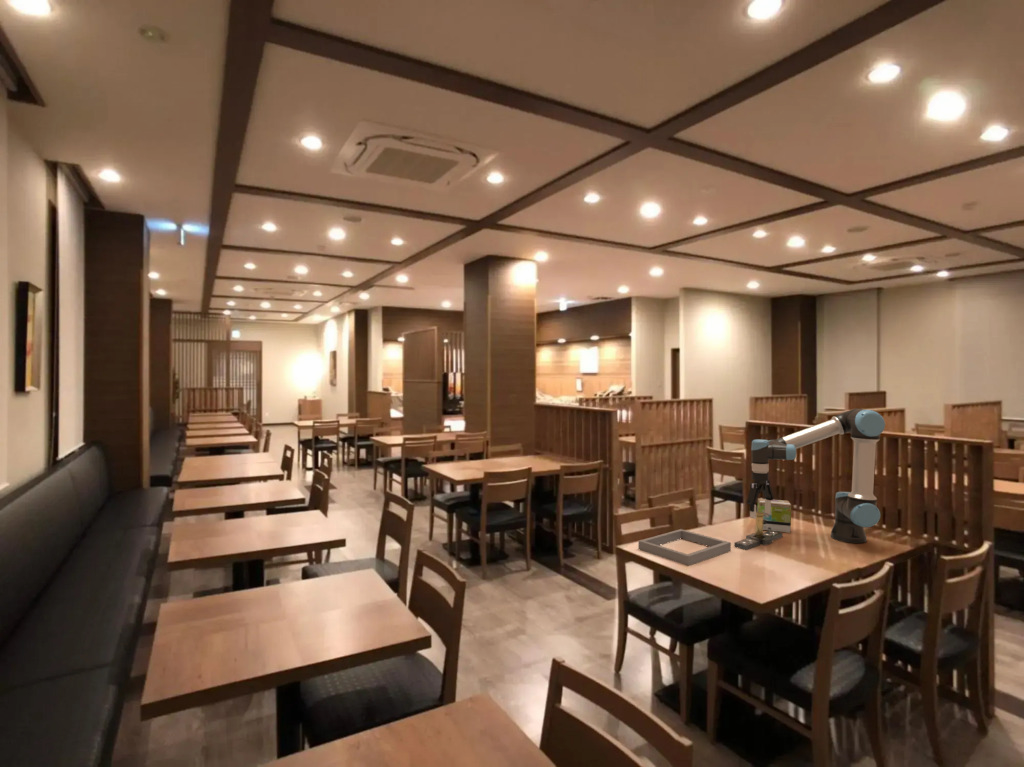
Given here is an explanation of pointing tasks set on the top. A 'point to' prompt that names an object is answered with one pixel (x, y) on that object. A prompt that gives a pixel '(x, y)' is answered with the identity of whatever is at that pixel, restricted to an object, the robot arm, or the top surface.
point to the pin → (759, 525)
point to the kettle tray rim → (688, 559)
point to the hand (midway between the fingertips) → (760, 515)
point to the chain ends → (758, 540)
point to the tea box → (776, 515)
